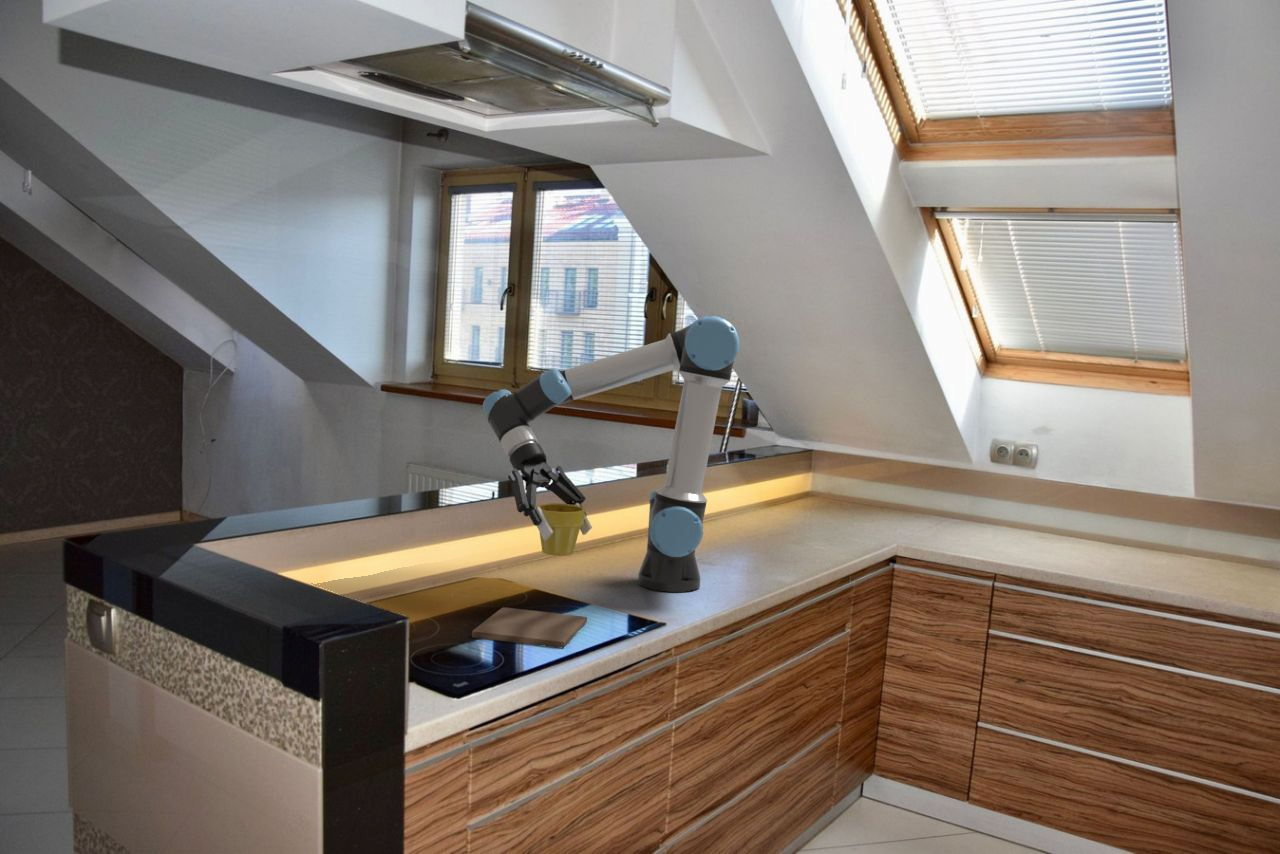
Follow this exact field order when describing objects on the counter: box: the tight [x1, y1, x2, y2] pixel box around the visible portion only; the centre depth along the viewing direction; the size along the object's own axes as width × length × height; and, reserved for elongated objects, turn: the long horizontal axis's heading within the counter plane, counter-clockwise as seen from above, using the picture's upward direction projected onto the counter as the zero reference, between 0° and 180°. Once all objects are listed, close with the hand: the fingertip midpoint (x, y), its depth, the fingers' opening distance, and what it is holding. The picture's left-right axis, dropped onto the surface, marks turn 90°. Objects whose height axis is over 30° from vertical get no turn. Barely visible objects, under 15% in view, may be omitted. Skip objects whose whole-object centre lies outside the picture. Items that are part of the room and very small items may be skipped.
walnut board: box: [471, 606, 588, 649], centre depth 187 cm, size 18×18×1 cm
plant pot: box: [535, 502, 586, 557], centre depth 203 cm, size 10×10×10 cm
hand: (568, 533), depth 201 cm, fingers closed on plant pot, 10 cm apart
